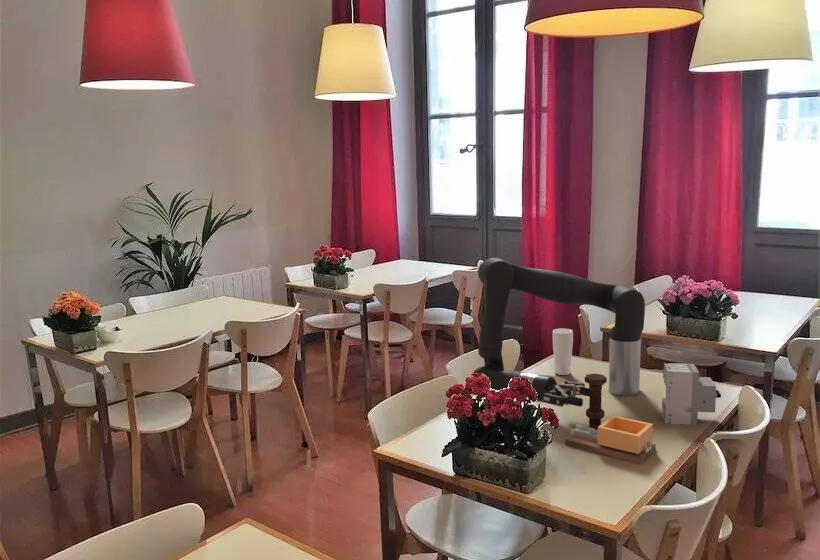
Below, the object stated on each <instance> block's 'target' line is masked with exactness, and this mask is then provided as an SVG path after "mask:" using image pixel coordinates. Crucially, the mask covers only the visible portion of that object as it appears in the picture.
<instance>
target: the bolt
mask: <svg viewBox="0 0 820 560" xmlns="http://www.w3.org/2000/svg"><path fill="white" fill-rule="evenodd" d="M607 378H608V377H606V376H605V375H604V374H600V373H589V374H586V375H585V376H584V383H586V384H588V388H589V390H590V392H589V395H590V396H588V397H589V398H588V399H589V400H588V403H589V404H588V408H587V409H586V410H585V416H586V417H587V418H588V419H589V420H588V427H589V428H594V429H598V427H599V426H600V425H601V424H602V419H603V418H604V417H605V411H604V409H602V396H603V395H602V392H603V391H602V389H603V385H605V384H606V383H607Z"/></svg>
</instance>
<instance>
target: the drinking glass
mask: <svg viewBox="0 0 820 560" xmlns="http://www.w3.org/2000/svg"><path fill="white" fill-rule="evenodd" d="M573 345H574V331H573V329H570V328H554V329H552V351H553V360H554V361H553V363H554V365H553V367H554V373H555V374H556V375H559V376H569V375H570V374H571V372H572V371H571V366H572V356H573Z"/></svg>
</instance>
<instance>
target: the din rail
mask: <svg viewBox="0 0 820 560" xmlns="http://www.w3.org/2000/svg"><path fill="white" fill-rule="evenodd" d="M570 435H572V436H576V437H580V438H584V439H588V440H592V441H596V442H598V429H594V428H589V426H585V425H579V424H575V428H572V427H571V428H570ZM651 443H652V442H650V441H648V442H647V446H646V445H644V446H643V450H642V451H641V452H642V453H647V452H648V451H649V450H650V449H651Z"/></svg>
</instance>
